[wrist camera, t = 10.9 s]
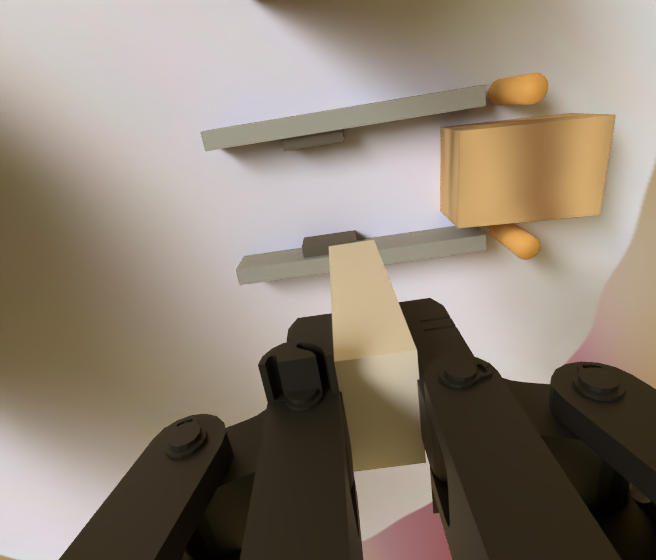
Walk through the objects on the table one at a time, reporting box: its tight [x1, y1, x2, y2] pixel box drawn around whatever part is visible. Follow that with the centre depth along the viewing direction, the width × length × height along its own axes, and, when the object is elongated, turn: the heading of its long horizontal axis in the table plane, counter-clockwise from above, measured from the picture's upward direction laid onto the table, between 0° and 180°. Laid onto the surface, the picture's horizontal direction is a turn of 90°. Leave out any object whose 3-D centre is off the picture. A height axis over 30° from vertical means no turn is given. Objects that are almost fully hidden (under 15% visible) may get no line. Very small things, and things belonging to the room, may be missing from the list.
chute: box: [201, 73, 548, 285], centre depth 28 cm, size 21×11×5 cm, turn 99°
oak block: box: [440, 113, 616, 228], centre depth 28 cm, size 9×6×5 cm, turn 96°
